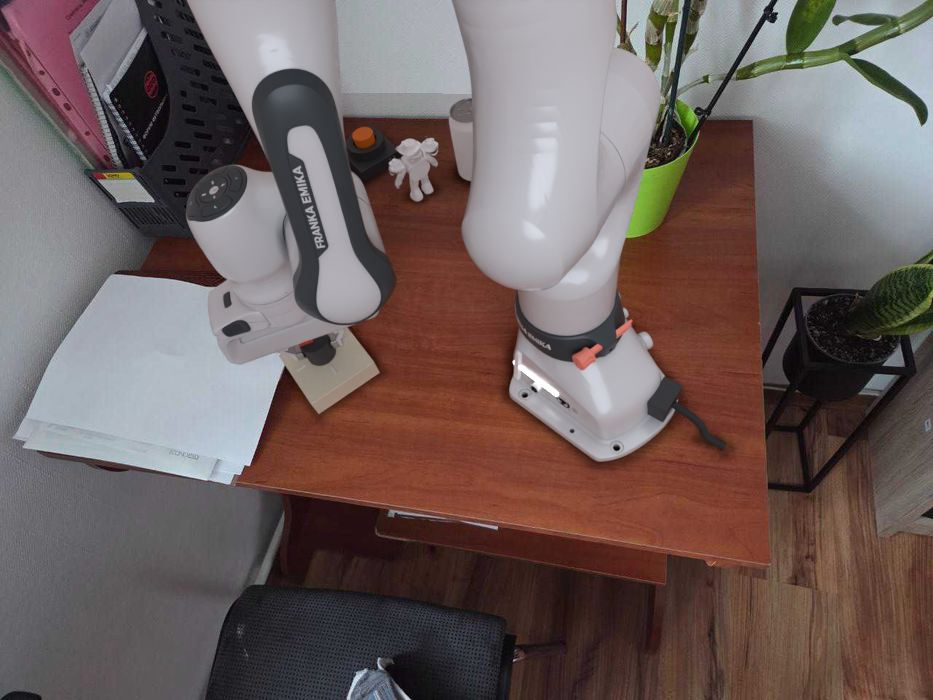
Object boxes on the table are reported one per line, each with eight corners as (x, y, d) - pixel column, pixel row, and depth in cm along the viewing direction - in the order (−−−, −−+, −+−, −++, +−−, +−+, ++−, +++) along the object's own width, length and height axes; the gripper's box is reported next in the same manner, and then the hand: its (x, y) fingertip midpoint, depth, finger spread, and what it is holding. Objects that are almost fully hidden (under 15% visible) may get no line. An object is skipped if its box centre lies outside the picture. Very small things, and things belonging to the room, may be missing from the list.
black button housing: (402, 159, 108) (397, 141, 105) (364, 182, 107) (358, 164, 103) (376, 135, 113) (370, 117, 109) (339, 156, 111) (332, 138, 108)
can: (496, 181, 102) (488, 121, 92) (457, 185, 103) (445, 125, 93) (496, 154, 106) (488, 93, 96) (458, 158, 106) (447, 98, 96)
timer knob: (332, 337, 86) (323, 322, 83) (338, 360, 84) (329, 345, 81) (305, 347, 86) (295, 332, 83) (311, 370, 84) (300, 356, 81)
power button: (379, 141, 106) (376, 133, 105) (361, 152, 105) (358, 143, 104) (368, 132, 108) (365, 123, 106) (351, 142, 107) (348, 133, 106)
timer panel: (379, 372, 86) (374, 361, 83) (318, 414, 84) (310, 404, 81) (345, 327, 91) (338, 315, 88) (286, 365, 89) (277, 354, 86)
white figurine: (406, 213, 101) (389, 156, 91) (394, 200, 103) (375, 143, 93) (450, 185, 103) (438, 126, 93) (437, 174, 105) (424, 114, 95)
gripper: (356, 241, 75) (385, 307, 86) (195, 297, 74) (246, 356, 85) (368, 279, 71) (396, 342, 83) (199, 338, 70) (251, 393, 82)
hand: (319, 349), depth 84 cm, fingers closed on timer knob, 4 cm apart
